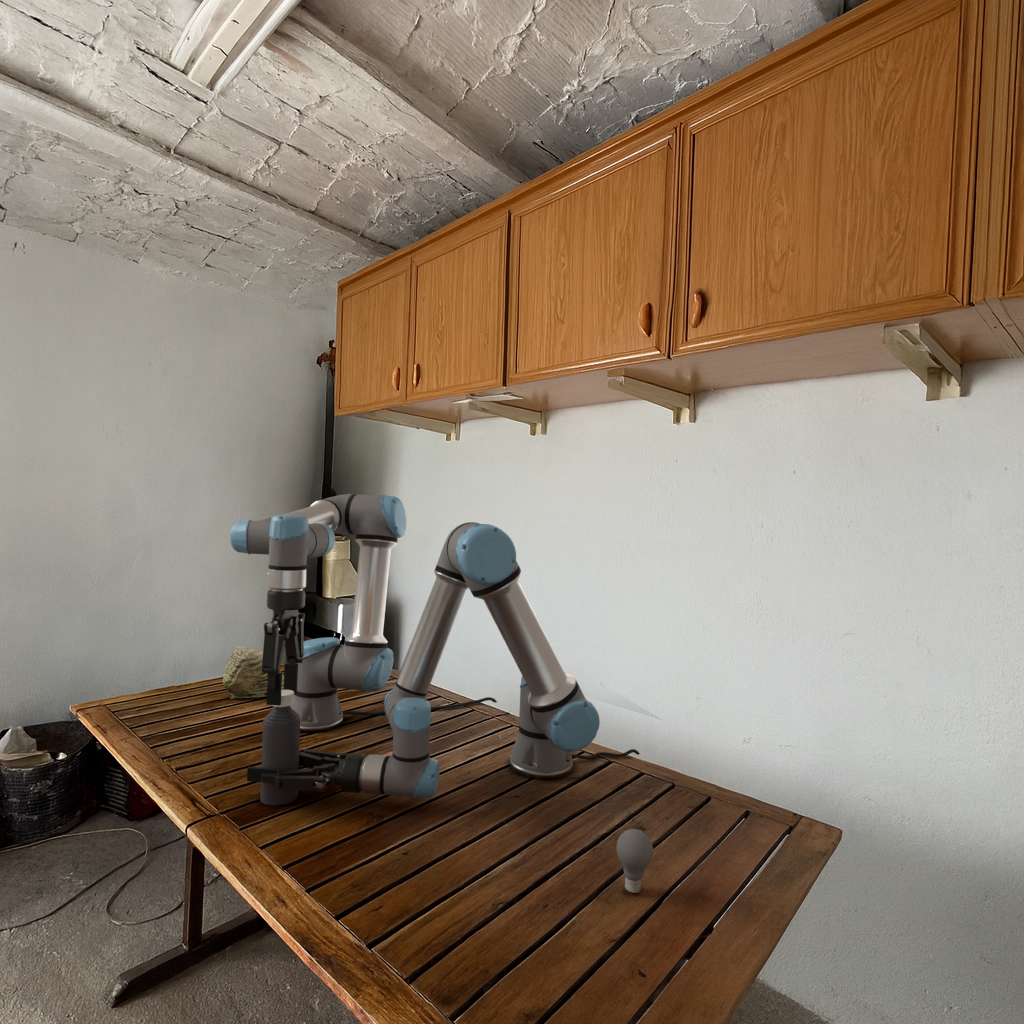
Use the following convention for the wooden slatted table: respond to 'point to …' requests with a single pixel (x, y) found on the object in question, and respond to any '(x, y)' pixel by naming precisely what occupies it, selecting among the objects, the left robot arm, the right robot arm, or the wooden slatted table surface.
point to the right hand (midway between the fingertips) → (257, 765)
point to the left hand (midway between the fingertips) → (282, 698)
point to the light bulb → (634, 857)
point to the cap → (286, 698)
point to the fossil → (246, 674)
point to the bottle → (280, 751)
